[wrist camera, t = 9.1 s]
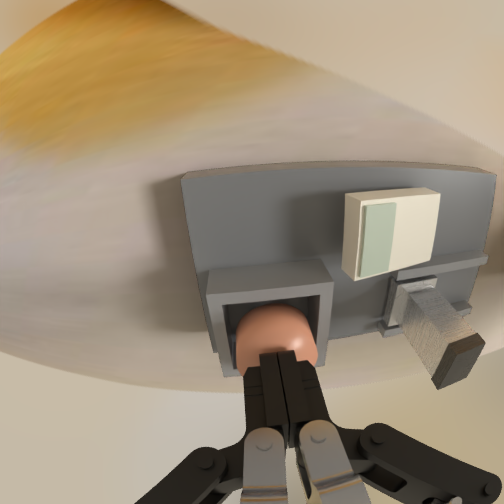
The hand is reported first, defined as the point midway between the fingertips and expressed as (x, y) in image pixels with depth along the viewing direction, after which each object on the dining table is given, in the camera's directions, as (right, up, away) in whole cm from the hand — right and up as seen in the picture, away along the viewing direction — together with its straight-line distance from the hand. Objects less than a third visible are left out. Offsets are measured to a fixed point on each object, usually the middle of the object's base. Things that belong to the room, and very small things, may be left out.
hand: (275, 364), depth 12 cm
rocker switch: (+6, +6, 0) cm, 8 cm away
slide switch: (+8, +2, +4) cm, 10 cm away
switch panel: (+6, +5, +5) cm, 9 cm away
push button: (0, +1, +2) cm, 2 cm away
